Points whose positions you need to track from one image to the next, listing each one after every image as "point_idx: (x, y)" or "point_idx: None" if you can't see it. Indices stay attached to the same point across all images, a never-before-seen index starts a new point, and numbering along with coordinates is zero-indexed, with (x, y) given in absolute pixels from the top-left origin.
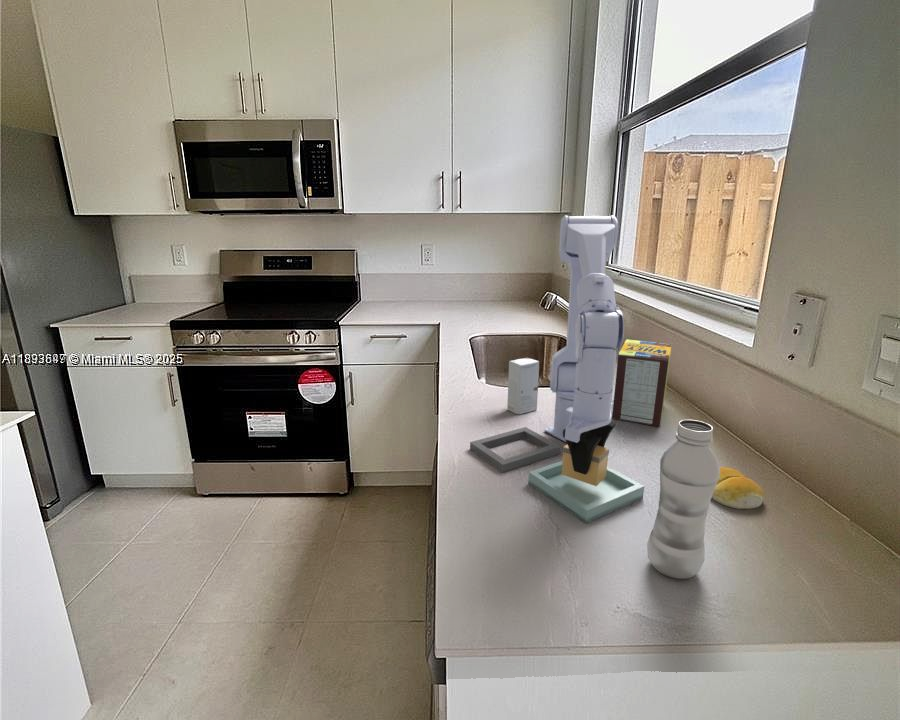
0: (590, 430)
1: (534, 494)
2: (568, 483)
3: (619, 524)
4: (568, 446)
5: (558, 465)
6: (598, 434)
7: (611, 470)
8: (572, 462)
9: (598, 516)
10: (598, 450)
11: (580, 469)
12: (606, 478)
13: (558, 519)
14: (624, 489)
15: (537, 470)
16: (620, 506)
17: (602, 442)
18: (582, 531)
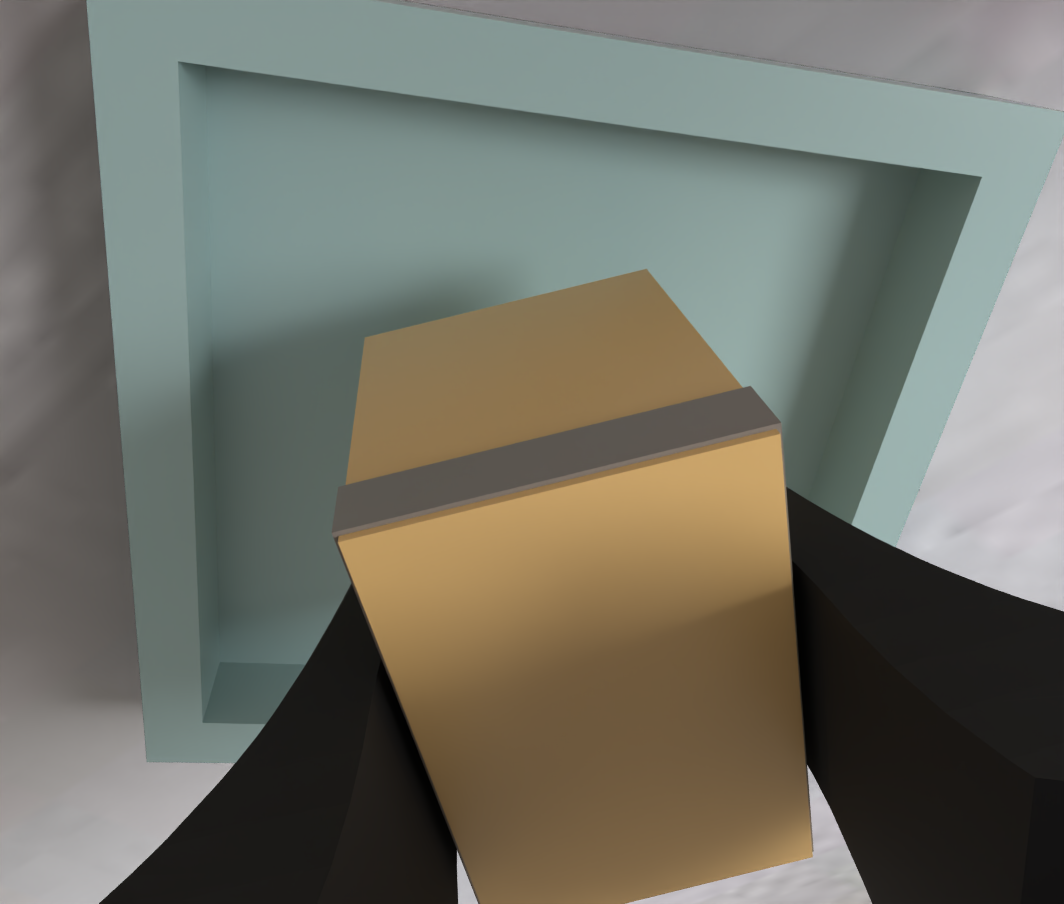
0: (920, 833)
1: (57, 174)
2: (475, 305)
3: None
4: (186, 821)
5: (566, 112)
6: (904, 896)
7: (874, 521)
8: (335, 613)
9: None
10: (669, 832)
11: None
12: (819, 452)
13: (13, 555)
14: None
15: (228, 8)
16: None
17: (851, 835)
18: (87, 712)
